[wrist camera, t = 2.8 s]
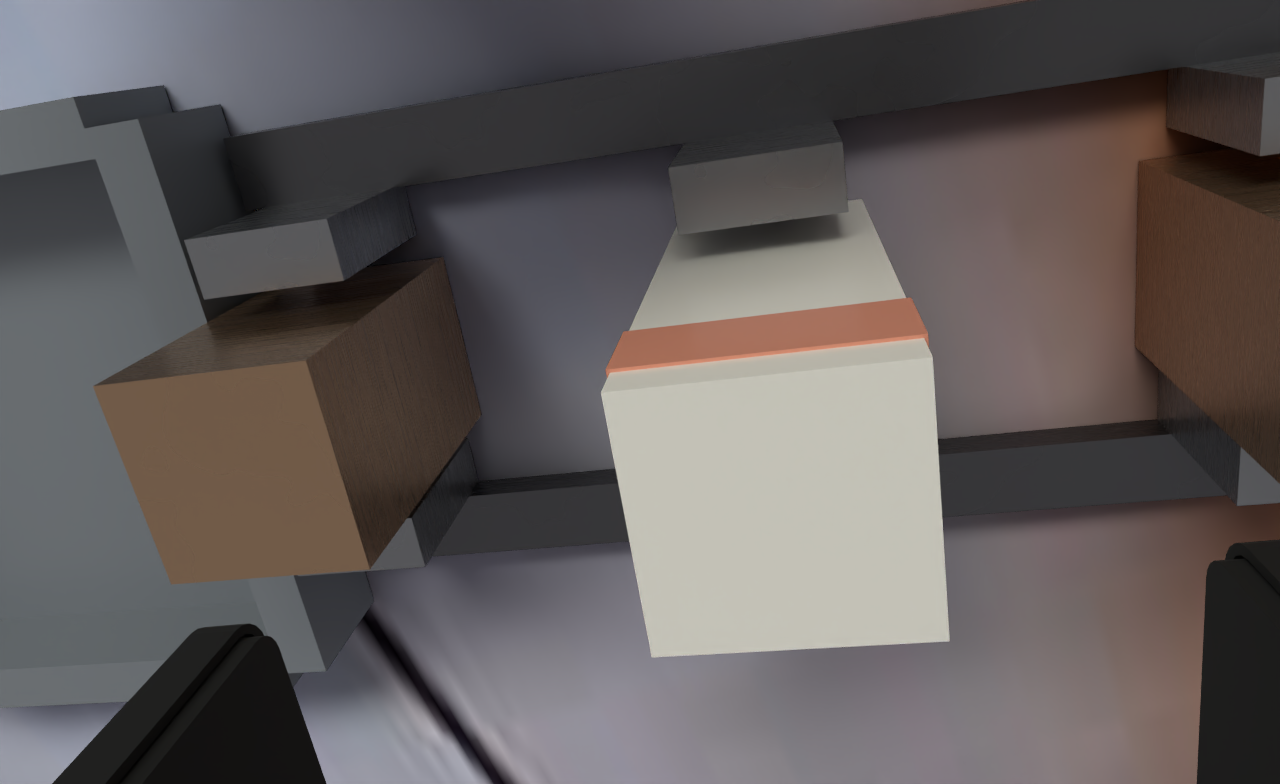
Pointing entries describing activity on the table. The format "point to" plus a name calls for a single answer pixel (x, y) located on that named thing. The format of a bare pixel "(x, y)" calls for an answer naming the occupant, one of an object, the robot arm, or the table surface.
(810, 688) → the table surface
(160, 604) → the tray
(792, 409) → the block
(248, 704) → the robot arm
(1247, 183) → the fuse holder
